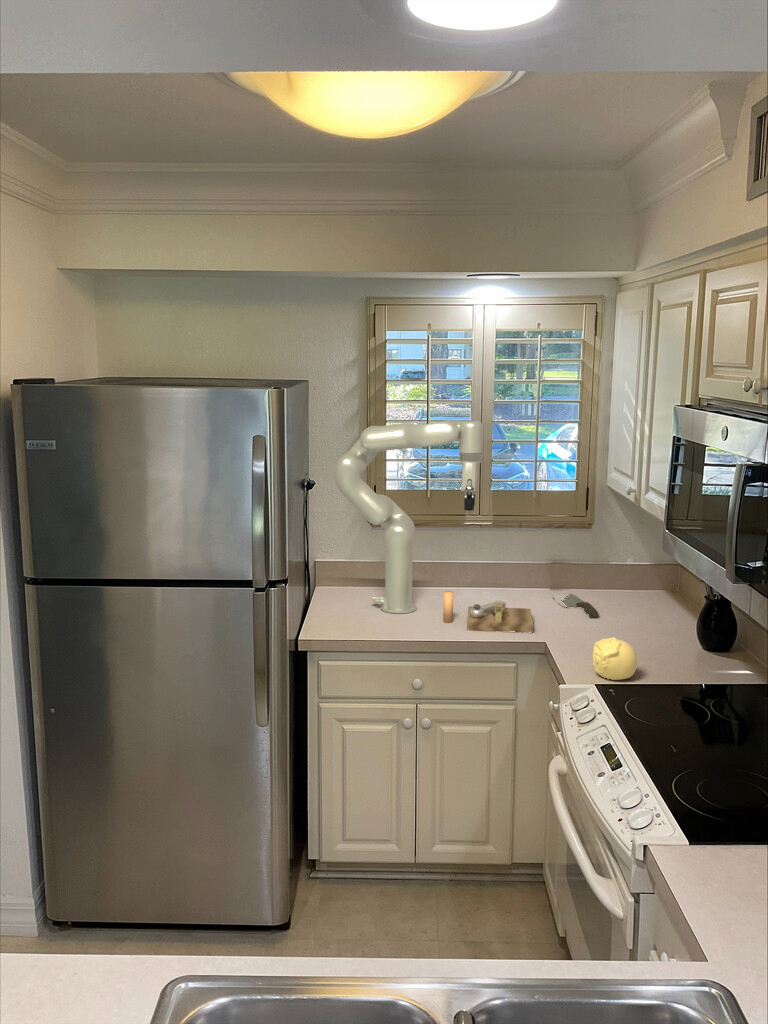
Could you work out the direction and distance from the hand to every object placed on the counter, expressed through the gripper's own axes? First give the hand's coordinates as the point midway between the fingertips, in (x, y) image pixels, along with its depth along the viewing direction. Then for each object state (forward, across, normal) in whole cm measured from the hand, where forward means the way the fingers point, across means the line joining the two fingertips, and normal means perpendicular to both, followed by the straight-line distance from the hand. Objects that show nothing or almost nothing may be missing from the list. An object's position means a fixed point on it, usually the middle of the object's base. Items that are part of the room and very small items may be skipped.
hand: (469, 507), depth 284 cm
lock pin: (+37, +12, -6) cm, 39 cm away
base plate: (+37, +12, +11) cm, 40 cm away
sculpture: (+37, +55, +42) cm, 78 cm away
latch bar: (+34, +11, +7) cm, 36 cm away
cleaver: (+38, -12, +38) cm, 55 cm away
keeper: (+34, +16, +10) cm, 39 cm away
